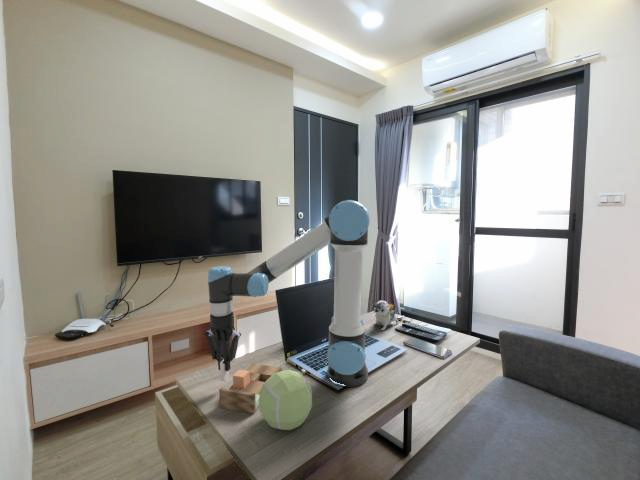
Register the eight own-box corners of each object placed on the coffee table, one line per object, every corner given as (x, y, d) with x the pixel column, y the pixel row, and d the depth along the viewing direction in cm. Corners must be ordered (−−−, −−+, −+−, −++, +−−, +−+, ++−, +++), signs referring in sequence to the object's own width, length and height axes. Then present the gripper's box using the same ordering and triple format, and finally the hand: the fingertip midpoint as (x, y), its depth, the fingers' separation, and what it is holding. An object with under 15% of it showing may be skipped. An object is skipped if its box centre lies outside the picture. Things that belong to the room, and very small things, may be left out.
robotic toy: (365, 328, 159) (365, 300, 157) (383, 319, 171) (384, 293, 170) (386, 335, 150) (386, 305, 148) (404, 325, 162) (404, 297, 161)
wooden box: (282, 375, 115) (281, 359, 115) (254, 413, 94) (253, 395, 93) (253, 371, 118) (252, 356, 118) (219, 407, 97) (219, 389, 96)
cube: (249, 381, 106) (249, 370, 105) (243, 388, 102) (243, 377, 101) (239, 380, 107) (239, 369, 106) (233, 386, 103) (232, 375, 103)
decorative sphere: (274, 451, 79) (272, 396, 78) (252, 418, 92) (250, 371, 90) (322, 427, 88) (321, 378, 86) (296, 400, 100) (295, 356, 98)
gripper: (244, 310, 105) (247, 375, 107) (211, 307, 108) (214, 370, 111) (233, 318, 98) (236, 387, 100) (197, 314, 101) (201, 382, 104)
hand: (224, 378), depth 105 cm, fingers closed
